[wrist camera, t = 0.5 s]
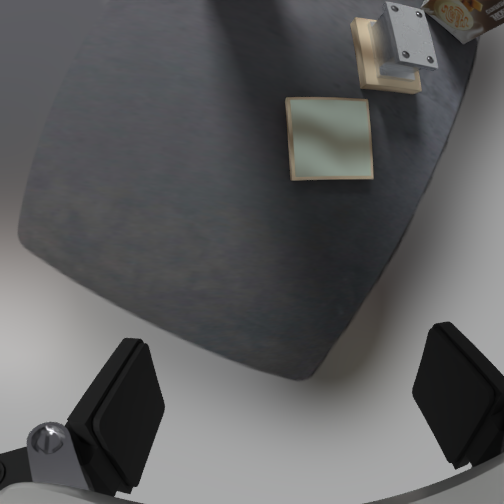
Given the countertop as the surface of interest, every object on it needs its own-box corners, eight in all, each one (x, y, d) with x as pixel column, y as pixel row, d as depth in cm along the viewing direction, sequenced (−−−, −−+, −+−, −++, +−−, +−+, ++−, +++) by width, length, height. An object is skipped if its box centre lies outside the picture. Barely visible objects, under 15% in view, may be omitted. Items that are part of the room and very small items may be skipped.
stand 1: (285, 101, 33) (286, 96, 31) (362, 102, 33) (368, 98, 31) (290, 180, 36) (292, 180, 34) (367, 178, 36) (374, 179, 33)
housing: (367, 24, 28) (385, 1, 21) (400, 30, 27) (423, 10, 21) (376, 77, 30) (400, 60, 23) (411, 82, 29) (438, 68, 23)
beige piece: (350, 25, 30) (355, 17, 27) (401, 33, 29) (408, 26, 27) (360, 88, 32) (366, 83, 30) (413, 94, 32) (421, 90, 30)
